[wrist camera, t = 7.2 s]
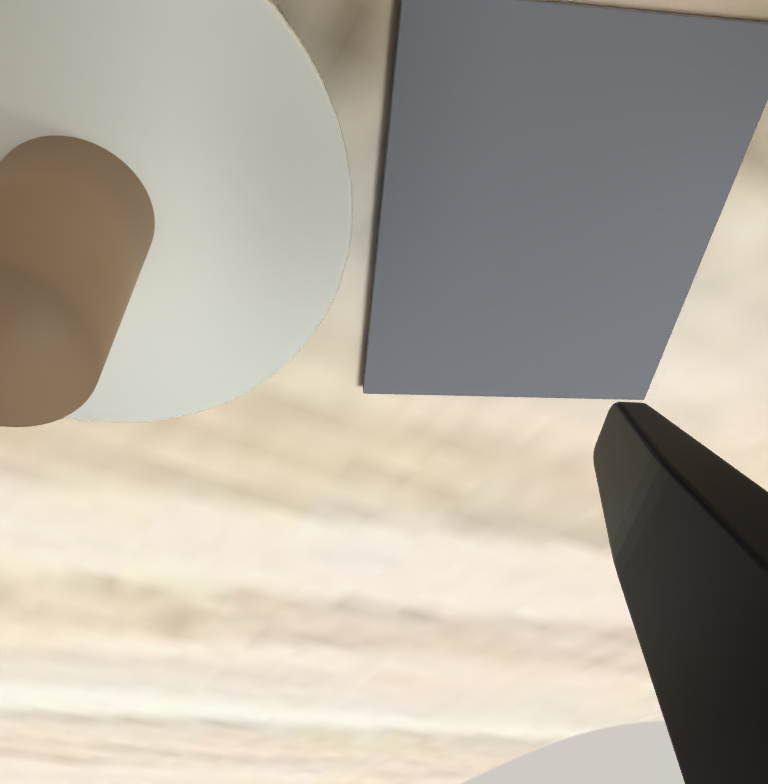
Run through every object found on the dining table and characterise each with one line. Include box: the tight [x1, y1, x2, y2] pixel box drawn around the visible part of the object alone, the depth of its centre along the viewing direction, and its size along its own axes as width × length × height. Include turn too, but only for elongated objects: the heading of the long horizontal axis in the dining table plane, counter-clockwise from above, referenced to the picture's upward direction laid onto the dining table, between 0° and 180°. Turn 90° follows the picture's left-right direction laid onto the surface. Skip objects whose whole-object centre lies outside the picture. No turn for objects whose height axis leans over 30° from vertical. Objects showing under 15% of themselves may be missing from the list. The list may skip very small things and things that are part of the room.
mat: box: [363, 0, 768, 400], centre depth 21 cm, size 10×12×1 cm
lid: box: [0, 0, 352, 427], centre depth 13 cm, size 12×12×6 cm
